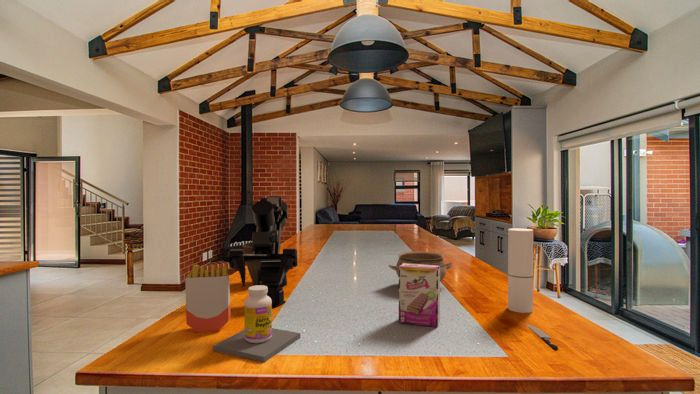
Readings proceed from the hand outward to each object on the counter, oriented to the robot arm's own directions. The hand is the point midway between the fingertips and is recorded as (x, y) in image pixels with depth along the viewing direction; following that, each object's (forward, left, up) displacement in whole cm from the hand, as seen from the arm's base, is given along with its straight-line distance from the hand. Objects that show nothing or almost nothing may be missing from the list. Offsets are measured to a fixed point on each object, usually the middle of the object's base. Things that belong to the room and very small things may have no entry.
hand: (261, 285), depth 101 cm
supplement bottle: (+3, -6, -12) cm, 14 cm away
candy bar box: (+36, +24, -13) cm, 46 cm away
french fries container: (-16, -3, -13) cm, 21 cm away
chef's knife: (+68, +28, -14) cm, 75 cm away
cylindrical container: (+62, +48, -13) cm, 80 cm away
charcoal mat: (+3, -6, -13) cm, 15 cm away
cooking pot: (+27, +62, -13) cm, 69 cm away
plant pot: (-33, +43, -13) cm, 56 cm away
